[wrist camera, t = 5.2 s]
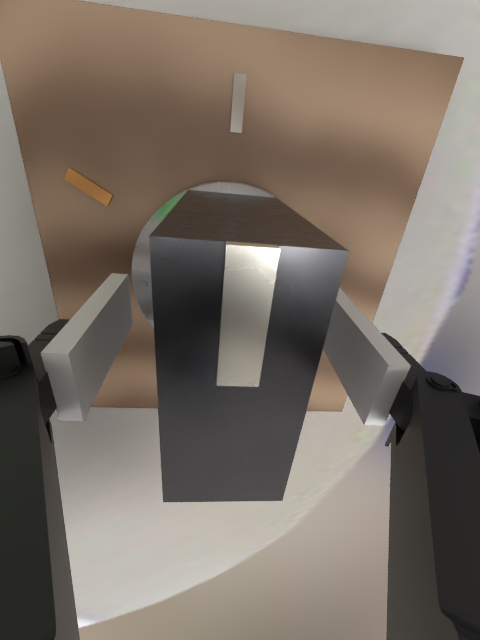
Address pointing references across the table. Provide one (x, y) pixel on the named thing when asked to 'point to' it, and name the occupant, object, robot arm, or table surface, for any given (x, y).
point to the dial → (233, 335)
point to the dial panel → (210, 144)
